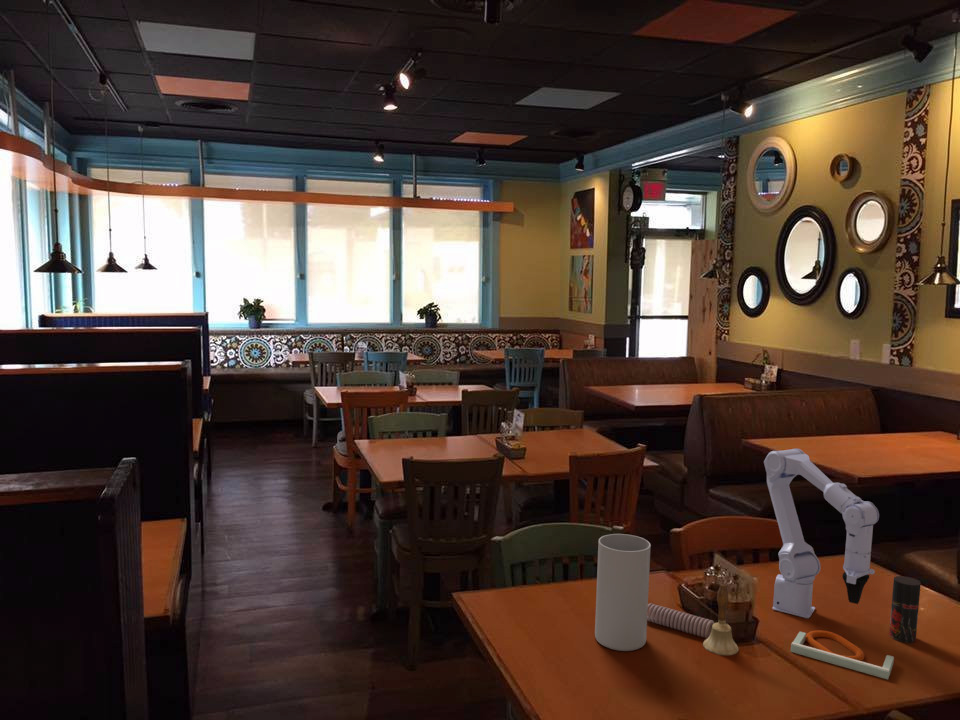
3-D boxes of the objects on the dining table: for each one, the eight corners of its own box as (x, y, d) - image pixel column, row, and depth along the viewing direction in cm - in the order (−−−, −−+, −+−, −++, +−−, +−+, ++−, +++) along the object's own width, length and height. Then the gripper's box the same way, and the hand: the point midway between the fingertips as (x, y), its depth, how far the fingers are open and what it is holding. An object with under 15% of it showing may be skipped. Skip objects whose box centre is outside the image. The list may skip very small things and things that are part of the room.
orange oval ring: (830, 627, 193) (874, 655, 179) (829, 633, 194) (873, 662, 179) (797, 631, 191) (839, 660, 177) (796, 637, 191) (838, 667, 177)
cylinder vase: (650, 635, 190) (655, 539, 187) (639, 657, 179) (644, 555, 176) (602, 624, 195) (606, 531, 192) (588, 645, 184) (592, 546, 181)
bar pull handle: (790, 651, 183) (791, 643, 183) (799, 638, 190) (799, 630, 190) (888, 679, 171) (888, 671, 170) (893, 664, 178) (893, 656, 178)
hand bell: (721, 658, 179) (724, 594, 177) (695, 643, 186) (699, 581, 184) (746, 651, 183) (749, 587, 181) (720, 636, 190) (723, 575, 188)
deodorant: (919, 644, 188) (924, 586, 187) (893, 641, 189) (898, 583, 188) (910, 633, 194) (915, 577, 192) (885, 630, 195) (890, 575, 193)
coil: (717, 619, 190) (650, 600, 201) (711, 623, 187) (643, 604, 197) (715, 637, 191) (648, 617, 201) (709, 642, 187) (641, 622, 197)
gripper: (871, 562, 181) (866, 616, 182) (880, 545, 192) (876, 596, 194) (839, 555, 185) (835, 608, 186) (850, 539, 196) (846, 589, 198)
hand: (853, 602), depth 190 cm, fingers closed
